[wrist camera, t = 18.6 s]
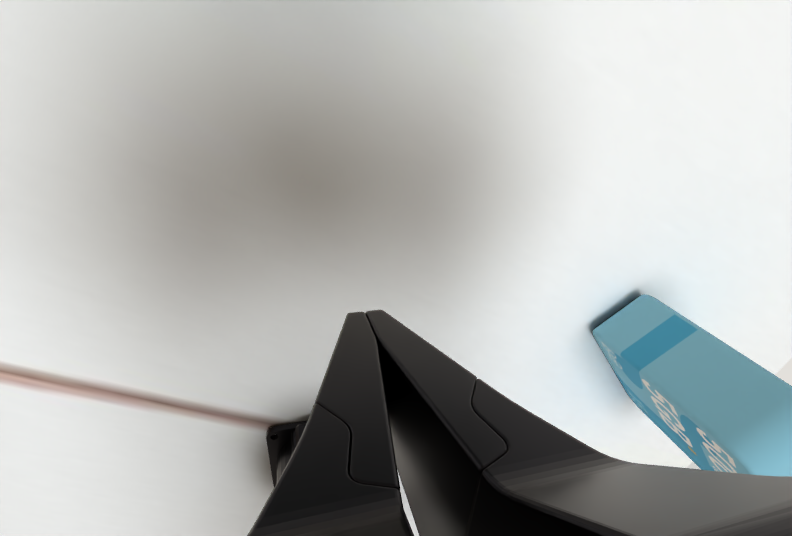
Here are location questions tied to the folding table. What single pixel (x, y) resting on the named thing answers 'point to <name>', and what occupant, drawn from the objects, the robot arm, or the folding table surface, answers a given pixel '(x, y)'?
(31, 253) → the folding table surface
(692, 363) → the blue printed box
